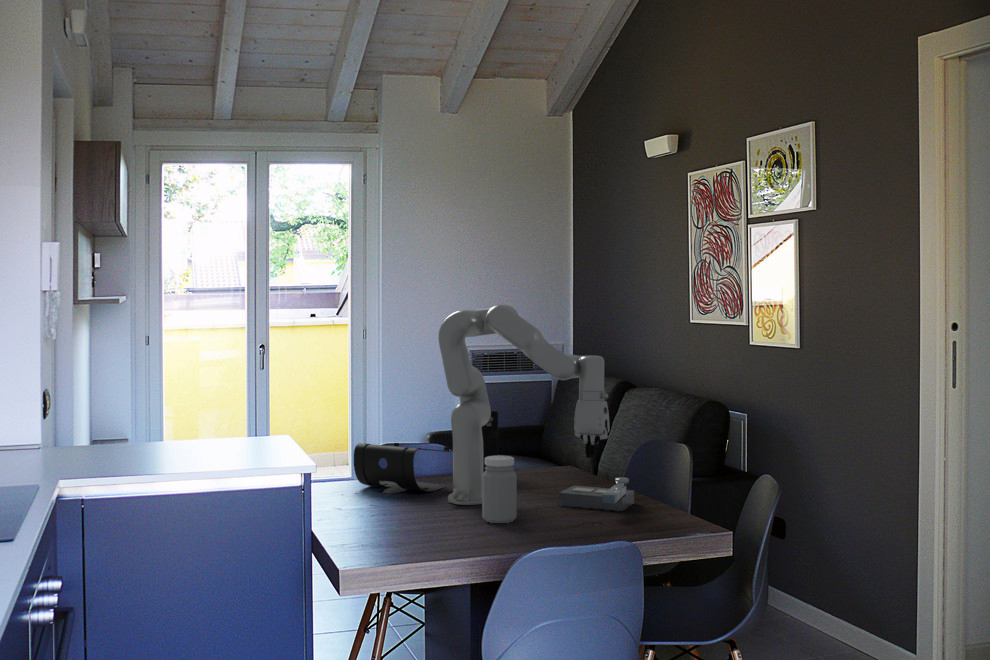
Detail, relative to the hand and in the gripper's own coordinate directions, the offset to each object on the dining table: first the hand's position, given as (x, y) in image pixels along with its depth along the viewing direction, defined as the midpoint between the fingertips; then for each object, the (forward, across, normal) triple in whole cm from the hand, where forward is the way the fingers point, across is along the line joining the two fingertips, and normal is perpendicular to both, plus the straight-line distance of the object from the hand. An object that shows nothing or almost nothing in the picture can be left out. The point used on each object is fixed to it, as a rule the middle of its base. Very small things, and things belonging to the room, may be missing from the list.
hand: (590, 457), depth 271 cm
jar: (+16, +13, +29) cm, 36 cm away
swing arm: (+11, -9, 0) cm, 14 cm away
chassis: (+16, +1, -7) cm, 17 cm away
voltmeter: (+16, +58, -24) cm, 65 cm away
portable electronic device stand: (+16, +68, +8) cm, 70 cm away
